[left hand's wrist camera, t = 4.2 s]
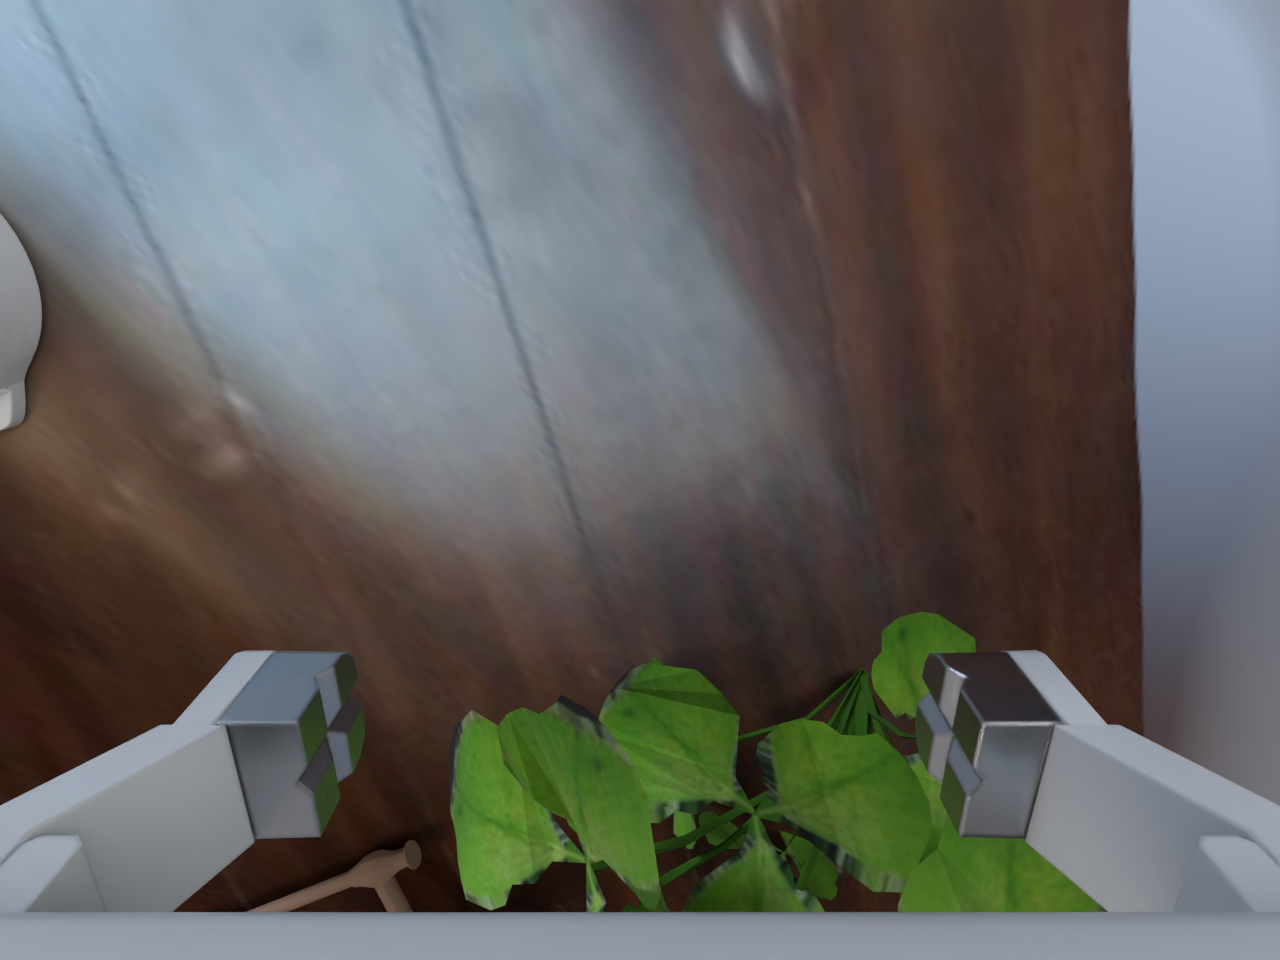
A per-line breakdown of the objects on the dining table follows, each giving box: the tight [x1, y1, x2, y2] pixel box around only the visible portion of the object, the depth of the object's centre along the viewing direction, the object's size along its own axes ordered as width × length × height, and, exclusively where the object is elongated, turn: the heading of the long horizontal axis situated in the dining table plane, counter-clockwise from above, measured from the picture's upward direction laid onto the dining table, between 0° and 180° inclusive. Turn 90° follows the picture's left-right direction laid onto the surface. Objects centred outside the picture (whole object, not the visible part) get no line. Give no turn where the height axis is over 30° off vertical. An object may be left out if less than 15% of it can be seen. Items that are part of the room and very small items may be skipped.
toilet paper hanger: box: [247, 840, 421, 912], centre depth 60 cm, size 27×11×8 cm, turn 117°
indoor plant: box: [450, 612, 1108, 912], centre depth 42 cm, size 44×42×30 cm
